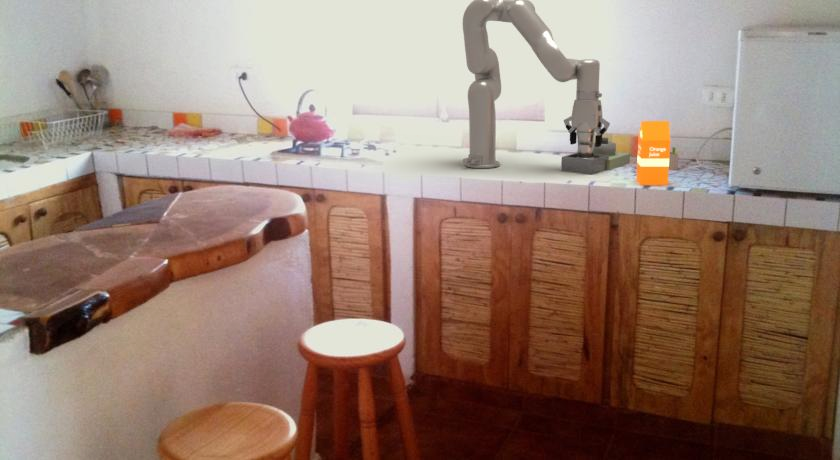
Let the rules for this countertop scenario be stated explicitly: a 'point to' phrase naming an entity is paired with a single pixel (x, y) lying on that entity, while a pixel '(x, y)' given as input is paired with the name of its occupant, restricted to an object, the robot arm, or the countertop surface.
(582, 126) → the plastic bottle
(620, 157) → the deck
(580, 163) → the dark grey tray
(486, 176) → the countertop surface
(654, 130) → the orange juice
